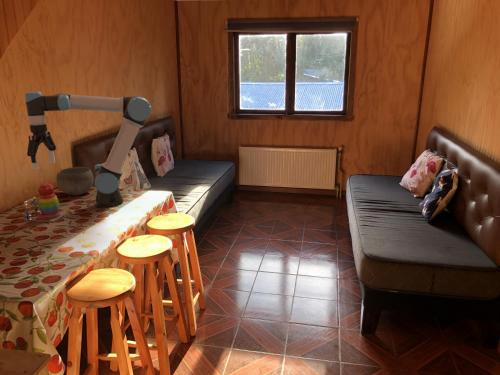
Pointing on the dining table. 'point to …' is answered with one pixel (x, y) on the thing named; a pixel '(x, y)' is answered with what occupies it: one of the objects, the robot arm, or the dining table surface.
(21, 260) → the dining table surface
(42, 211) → the stacking bear
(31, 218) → the miniature post railing
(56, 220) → the mat
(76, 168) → the bowl
